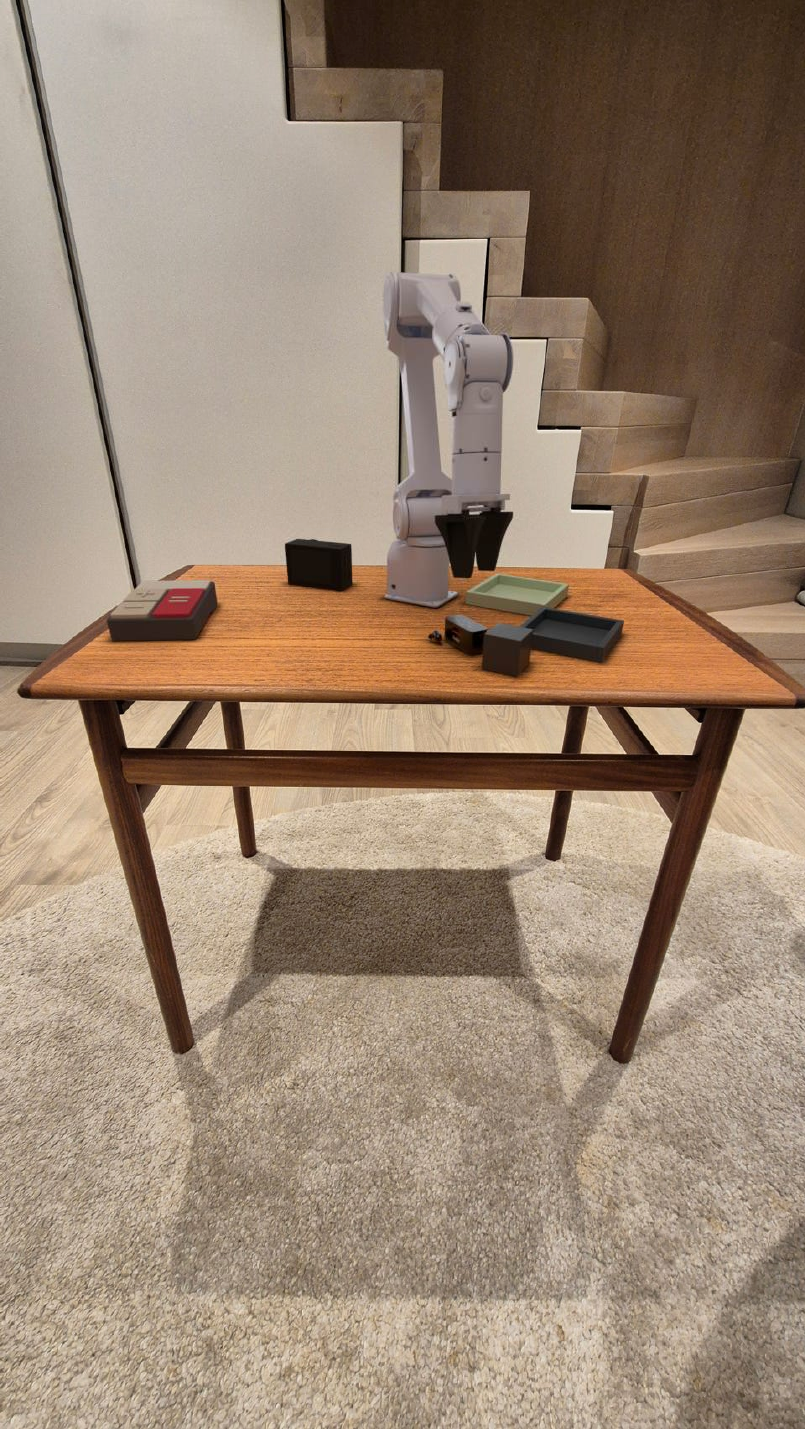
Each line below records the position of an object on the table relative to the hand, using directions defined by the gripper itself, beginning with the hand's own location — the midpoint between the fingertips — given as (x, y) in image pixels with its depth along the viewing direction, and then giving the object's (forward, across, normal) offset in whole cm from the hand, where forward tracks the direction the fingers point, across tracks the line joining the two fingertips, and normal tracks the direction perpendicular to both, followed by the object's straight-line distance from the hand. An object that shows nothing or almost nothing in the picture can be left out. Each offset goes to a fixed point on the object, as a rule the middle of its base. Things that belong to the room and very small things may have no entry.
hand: (474, 574), depth 74 cm
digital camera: (+4, +14, +34) cm, 37 cm away
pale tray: (+7, +23, +2) cm, 24 cm away
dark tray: (+10, +10, -10) cm, 17 cm away
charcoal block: (+10, -3, -5) cm, 12 cm away
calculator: (+7, -13, +42) cm, 44 cm away
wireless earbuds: (+10, 0, +3) cm, 10 cm away
